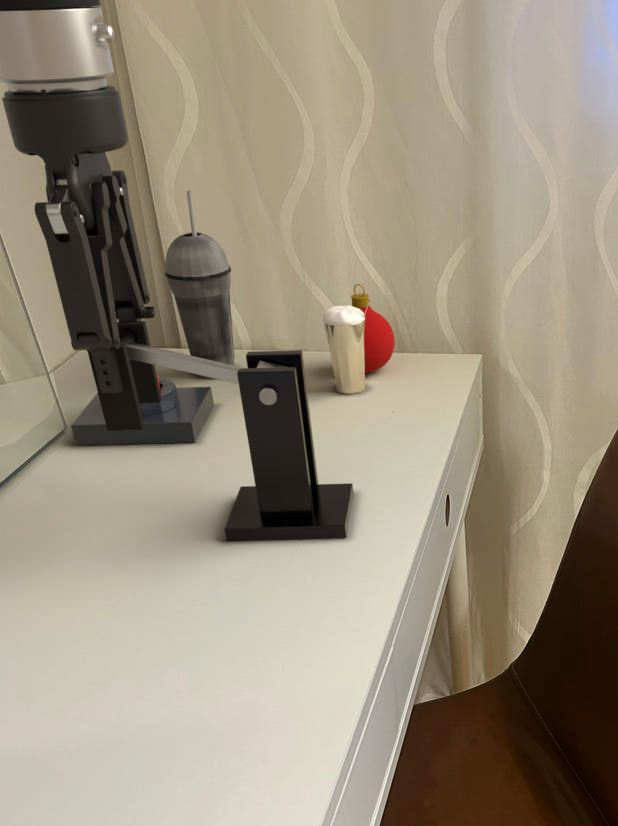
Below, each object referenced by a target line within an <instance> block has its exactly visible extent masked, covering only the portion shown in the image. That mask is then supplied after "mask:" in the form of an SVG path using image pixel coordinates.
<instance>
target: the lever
mask: <svg viewBox="0 0 618 826" xmlns="http://www.w3.org/2000/svg"><path fill="white" fill-rule="evenodd" d="M118 333H119V338H120V344H126V347H127V351H128V356H129V359H132V360H136V361H141V362H145V363H150V364H154V365H155V366H157V367H158V366H159V367H164V368H168V369H172V370H176V371H180V372H185V373H190V374H195V375H196V374H198V375H202V376H207V377H211V378H214V379H216V380H220V381H224V382H229V383H233V384H238V385H239V382H238V376H237V372H238V370H239V369H242V368H243V367H242V366H238V365H234V366H233V365H229V364H225V363H220V362H216V361H212V360H207V359H203V358H199V357H194V356H191V355H190V354H186V353H181V352H177V351H172V350H169V349H164V348H160V347H155V346H152V345H150V346H147V345H142V344H138V337H137V335H136V333H135V332H134V331H133V330H132V329H130V328H126V327H124V328H121V329H119V330H118ZM280 367H286V366H281V365H277V364H273V363H268V362H264V361H259V364H258V366H257V368H280Z"/></svg>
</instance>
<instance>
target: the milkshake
mask: <svg viewBox="0 0 618 826" xmlns="http://www.w3.org/2000/svg"><path fill="white" fill-rule="evenodd" d="M370 303H371V299H370V298H369V303H368V306H370ZM368 306H367V309H368ZM367 309H366V312H367ZM366 312H365V314H364V313H363V312H362V311H361V310H360V309H358V308H356V307H353V306H352V305H350V304H349V305H348V304H347V305H334V306H331V307H329V308H328V309H327V310H326V311H325V312H324V314H323V317H322V321H323V326H324V332H325V336H326V341H327V345H328V349H329V352H330V354H329V355H330V360H331V365H332V370H333V376H334V382H335V387H336V391H337V392H338V393H341V394H345V395H346V394H348V395H353V394H358V393H361V392H363V391H364V390H365V389H366V375H365V374H366V373H365V357H364V344H365V315H366Z"/></svg>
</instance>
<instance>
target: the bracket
mask: <svg viewBox="0 0 618 826" xmlns="http://www.w3.org/2000/svg"><path fill="white" fill-rule="evenodd" d="M245 360H246V367H242V369H239V370H238V372H237V376H238V382H239V384H238V386H239V393H240V400H241V405H242V406H241V407H242V412H243V413H242V414H243V418H244V425H245V430H246V431H245V432H246V436H247V442H248V450H249V454H250V461H251V467H252V473H253V478H254V479H253V481H254V485H249V486H246V485H245V486H243V485H242V486H240V488H239V490H238V493H237V495H236V498H235V500H234V503H233V505H232V508H231V510H230V513H229V515H228V517H227V520H226V524H225V525H224V528H223V531H224V536H225V540H226V542H244V541H245V542H246V541H247V542H249V541H251V542H252V541H279V540H281V541H282V540H285V541H286V540H313V539H314V540H315V539H317V540H318V539H319V540H320V539H346V538H347V535H348V531H349V530H348V529H349V524H350V517H351V513H352V506H353V500H354V495H355V494H354V485H353V483H351V482H350V483H319V478H318V471H317V463H316V462H317V461H316V454H315V445H314V438H313V437H314V436H313V429H312V421H311V420H312V419H311V413H310V404H309V403H310V402H309V396H308V387H307V381H306V379H307V378H306V372H305V363H304V355H303V350H301V349H300V350H299V349H298V350H263V351H261V350H260V351H258V350H257V351H247V353H246V354H245ZM259 361H264V362H268V363H273V364H277V365H281V366H286V367H280V368H257V366H258V364H259Z"/></svg>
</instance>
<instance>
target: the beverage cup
mask: <svg viewBox="0 0 618 826" xmlns="http://www.w3.org/2000/svg"><path fill="white" fill-rule="evenodd" d="M186 197H187V205H188V212H189V220H190V221H189V223H190V229H191V231H189V232H185V233H182V234H180V235H179V236H177V237H176V238H174V239H173V241H172V242H171V243H170V245H169V247H168V248H167V251H166V255H165V259H164V260H165V261H164V262H165V263H164V267H165V268H164V269H165V272H164V277H166V278H167V282H168V286H169V289H170V291H171V293H172V294H173V297H174V300H175V305H176V308H177V311H178V315H179V319H180V322H181V326H182V329H183V333H184V337H185V340H186V344H187V348H188V351H189V355H190V356H194V357H199V358H203V359H207V360H212V361H216V362H220V363H225V364H229V365H233V366H235V348H234V347H235V345H234V334H233V331H234V330H233V321H232V319H233V318H232V305H231V292H230V290H231V272H232V268H231V265H230V264H229V263H230V262H229V259H228V257H227V254H226V252H225V250H224V248H223V247H222V246H221V244H219V242H218V241H216V240H215V239H214V237H213V238H212V237H211V236H210V235H208V234H206V233H203V232H199V231H197V226H196V216H195V209H194V201H193V194H192V190H186ZM195 375H196V376H197V377H199V378H202V379H209V380H210V379H211V380H214V379H215V378H211V377H207V376H202V375H198V374H195Z"/></svg>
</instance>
